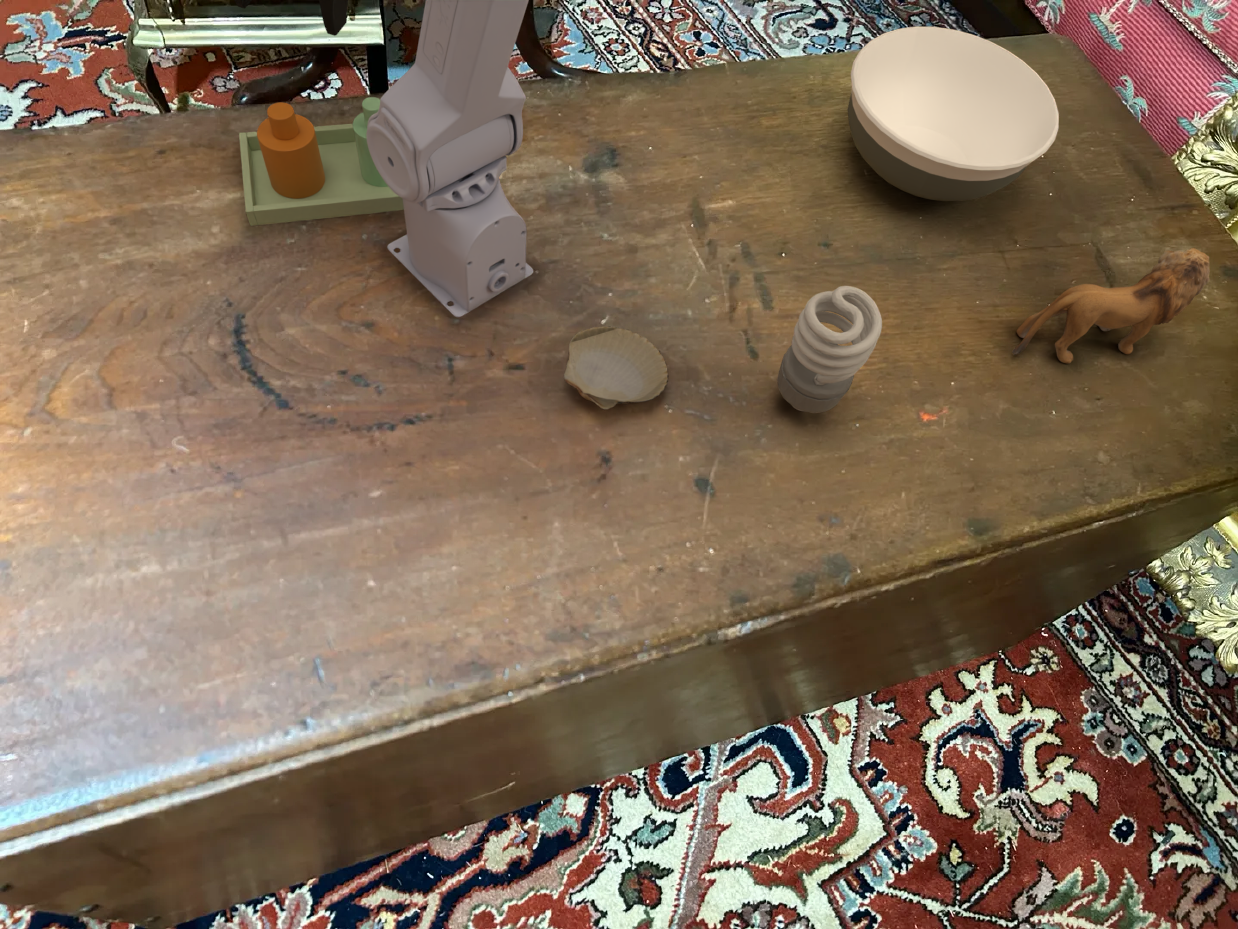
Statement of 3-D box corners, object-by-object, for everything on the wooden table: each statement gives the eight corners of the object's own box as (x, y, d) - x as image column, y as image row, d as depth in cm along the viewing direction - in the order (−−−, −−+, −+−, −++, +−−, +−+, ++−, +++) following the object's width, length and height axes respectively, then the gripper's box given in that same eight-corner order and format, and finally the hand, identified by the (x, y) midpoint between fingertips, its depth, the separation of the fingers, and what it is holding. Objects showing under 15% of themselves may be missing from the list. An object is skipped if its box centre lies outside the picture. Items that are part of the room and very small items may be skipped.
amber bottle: (333, 189, 76) (318, 120, 70) (282, 205, 74) (263, 136, 68) (313, 155, 78) (296, 85, 72) (262, 170, 76) (241, 100, 70)
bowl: (865, 248, 80) (900, 176, 73) (797, 106, 89) (822, 29, 82) (1049, 227, 84) (1099, 157, 77) (965, 93, 93) (1004, 19, 86)
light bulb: (838, 437, 70) (896, 341, 59) (767, 432, 69) (812, 334, 59) (831, 377, 72) (885, 276, 62) (762, 372, 72) (805, 269, 62)
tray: (467, 132, 82) (467, 113, 80) (486, 205, 78) (486, 187, 76) (244, 152, 78) (238, 132, 76) (251, 230, 73) (245, 211, 72)
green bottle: (412, 175, 78) (404, 107, 72) (377, 193, 76) (366, 125, 70) (387, 151, 79) (377, 82, 73) (352, 168, 77) (339, 99, 71)
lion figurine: (1130, 300, 80) (1196, 226, 73) (1166, 346, 78) (1239, 275, 70) (993, 334, 77) (1048, 261, 69) (1027, 384, 74) (1088, 314, 66)
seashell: (671, 392, 72) (606, 317, 73) (689, 372, 70) (621, 296, 70) (603, 443, 67) (534, 363, 68) (619, 424, 65) (547, 341, 66)
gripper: (114, -179, 58) (180, 16, 70) (324, -118, 57) (355, 69, 69) (174, -226, 62) (227, -33, 73) (372, -169, 61) (394, 17, 73)
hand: (292, 13), depth 72 cm, fingers open, 7 cm apart
